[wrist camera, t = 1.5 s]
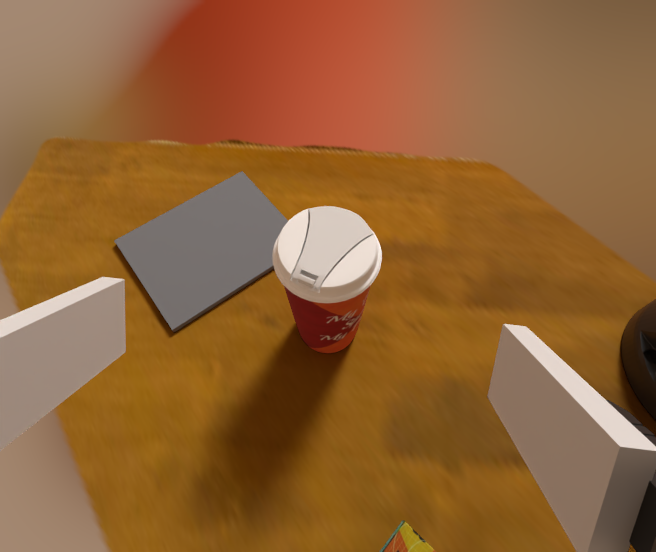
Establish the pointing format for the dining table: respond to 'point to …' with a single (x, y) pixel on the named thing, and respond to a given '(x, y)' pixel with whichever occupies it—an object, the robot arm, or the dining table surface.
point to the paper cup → (327, 273)
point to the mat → (204, 249)
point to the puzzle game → (406, 541)
